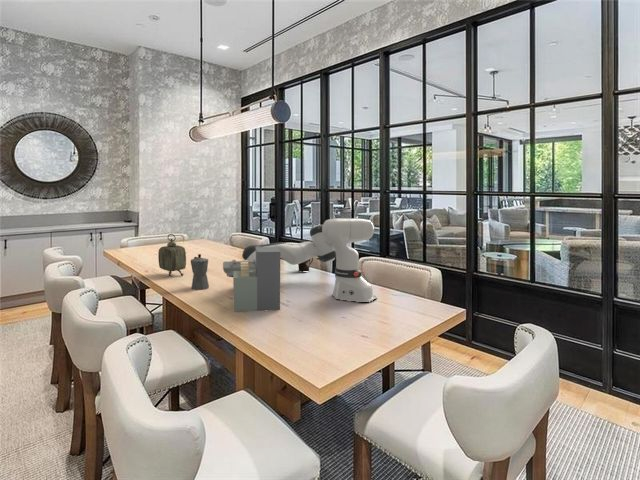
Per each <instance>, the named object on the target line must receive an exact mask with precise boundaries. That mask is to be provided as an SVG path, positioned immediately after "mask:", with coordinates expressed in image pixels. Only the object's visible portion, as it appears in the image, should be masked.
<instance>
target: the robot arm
mask: <svg viewBox="0 0 640 480" xmlns="http://www.w3.org/2000/svg"><path fill="white" fill-rule="evenodd" d="M374 234H375V226H374V224H373V222H372V221H371V220H370V219H366V218H349V217H345V218H344V217H343V218H337V217H335V218H330V219H326V220H325V221H324V222H323V224H316V225H314V226H313V227H312V228H311V229H310V230H309V235H310V237H311V240H312V241H304V242H298V243H296V244H290V243H289V244H288V243H286V242H285V241H284V242H281V241H280V242H274V243H266V244H253V245H252V244H251V245H248V246H246V247H245V248H244V249H243V251H242V255H241V257H242V258H243V259H242V260H248V264H249V271H256V247H278V249H279V250H280V258H282V260H284V261H285V262H286V263H287V264H290V265H293V266H294V265H295V266H296V265H298V264H300V263H303V262H305V261H307V260H309V259H310V260H312V258H313V259H314V258H315V257H316V260H318V261H319V262H321V263H331V262H333V261H334V260H335V259H336V260H335V263H336V264H335V265H336V266H335V270H334V276H335V280H334V281H335V282H334V286H333V290H332V291H333V292H332V295H333V296H334V297H333V298H334V299H335V300H336V299H340V300H339V301H343V300H347V301H346V302H351V301H357V302H356V303H358V302H369V301H372V300H374V299H376V298H377V299H378V295H377V294H374V292H373V286H372V284H371V283H370V282H368V281H367V280H366V279H365V278H364V276H362V274H363V273H364V272H363V271H364V270H363V269H362V270H360V268H359V252H358V251H357V250H356V249H355V248H353V247H351V246H349V245H348V244H351V243H357V242H362V241H367V240H370V239H372V238H373V236H374ZM222 270H223V272H224V274H226V277H228V278H233V275H234V271H241V260H239V261H238V260H236V259H232V260H229V261H228V260H227V261H226V260H225V261H223V262H222ZM332 295H331V296H332ZM377 299H376V300H377ZM372 302H373V301H372ZM369 303H370V302H369Z"/></svg>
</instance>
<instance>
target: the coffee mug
mask: <svg viewBox="0 0 640 480" xmlns="http://www.w3.org/2000/svg"><path fill="white" fill-rule="evenodd" d="M313 261H314V257H313V258H311V259H309V260H307V261H305V262H303V263H300V264H297V266H298V272H299V271H309V272H310V265H311V264H312V263H313Z"/></svg>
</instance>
